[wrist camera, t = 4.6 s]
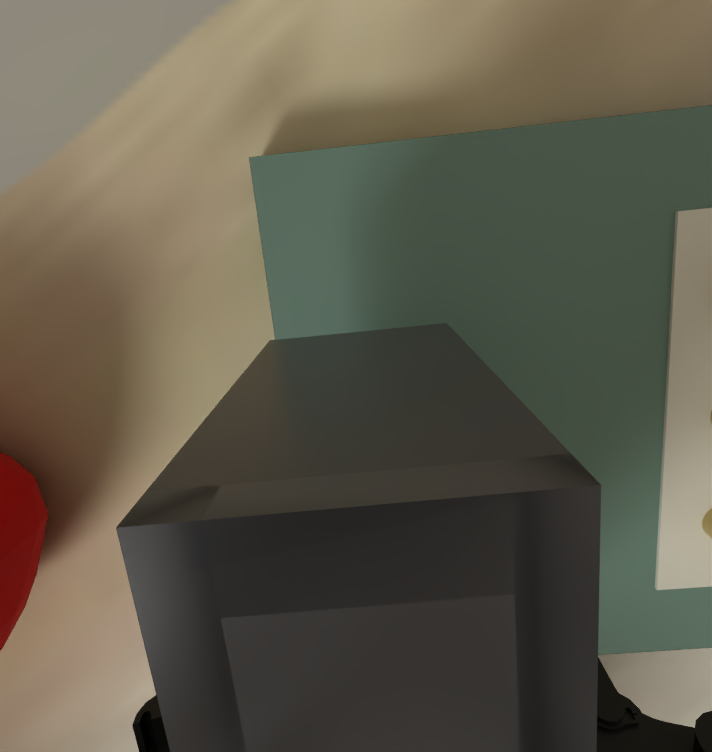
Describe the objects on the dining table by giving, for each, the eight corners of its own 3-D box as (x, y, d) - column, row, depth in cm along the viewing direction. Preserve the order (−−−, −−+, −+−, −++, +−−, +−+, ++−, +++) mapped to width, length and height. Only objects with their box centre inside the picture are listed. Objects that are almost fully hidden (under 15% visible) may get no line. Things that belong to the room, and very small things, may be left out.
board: (326, 644, 24) (312, 779, 18) (258, 162, 19) (207, 134, 13) (747, 617, 23) (873, 749, 17) (804, 101, 18) (1016, 41, 12)
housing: (326, 732, 19) (292, 1257, 9) (270, 340, 15) (115, 527, 6) (469, 721, 19) (587, 1244, 9) (447, 323, 15) (601, 484, 5)
